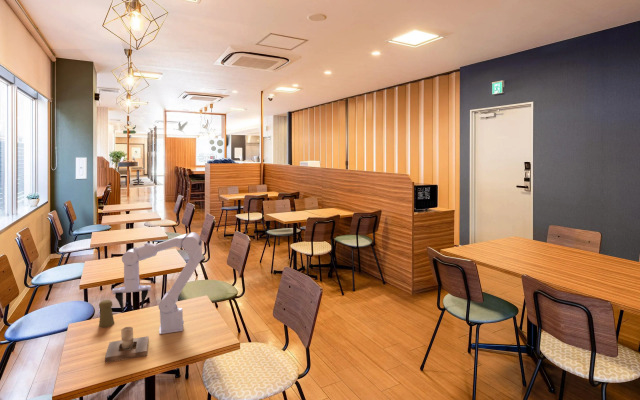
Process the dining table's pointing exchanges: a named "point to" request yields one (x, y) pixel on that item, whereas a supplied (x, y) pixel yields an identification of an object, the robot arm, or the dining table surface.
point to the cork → (106, 314)
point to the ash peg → (127, 338)
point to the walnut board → (116, 354)
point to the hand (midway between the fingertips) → (132, 308)
